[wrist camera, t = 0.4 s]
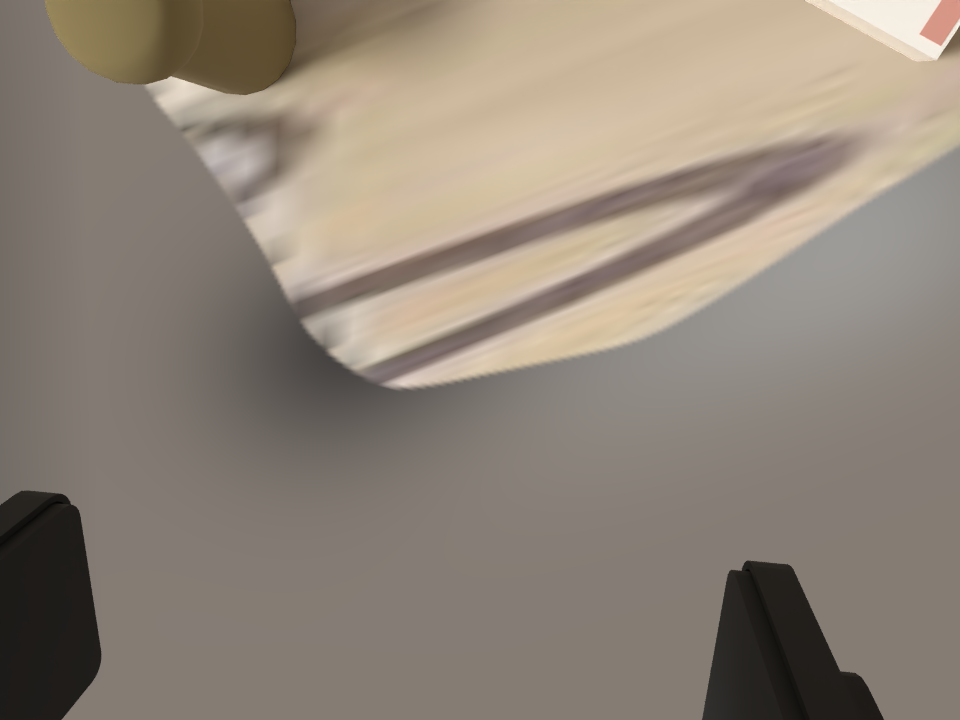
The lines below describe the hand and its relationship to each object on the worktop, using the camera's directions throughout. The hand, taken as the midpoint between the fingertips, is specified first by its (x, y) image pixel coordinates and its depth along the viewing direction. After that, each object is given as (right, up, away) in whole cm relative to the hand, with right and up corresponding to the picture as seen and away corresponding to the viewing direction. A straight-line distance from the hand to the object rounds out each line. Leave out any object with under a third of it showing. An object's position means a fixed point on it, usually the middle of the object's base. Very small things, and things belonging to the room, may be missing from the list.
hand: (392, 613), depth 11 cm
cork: (-10, +19, +25) cm, 33 cm away
